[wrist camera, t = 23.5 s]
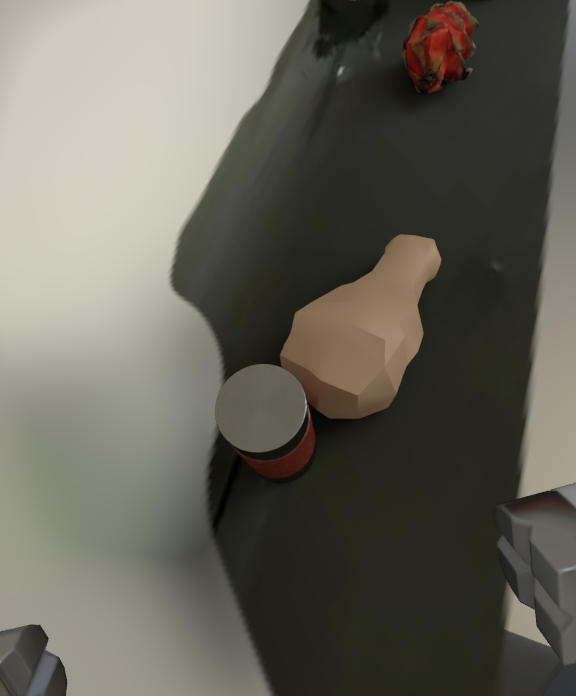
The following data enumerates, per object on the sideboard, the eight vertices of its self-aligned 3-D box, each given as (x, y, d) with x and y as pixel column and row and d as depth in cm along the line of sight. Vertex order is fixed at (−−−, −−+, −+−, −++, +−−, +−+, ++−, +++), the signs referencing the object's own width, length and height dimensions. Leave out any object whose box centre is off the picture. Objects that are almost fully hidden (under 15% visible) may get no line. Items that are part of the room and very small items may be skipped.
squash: (267, 406, 41) (239, 347, 34) (365, 264, 50) (359, 193, 43) (376, 458, 36) (370, 400, 29) (464, 289, 45) (476, 214, 38)
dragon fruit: (447, 59, 62) (425, 129, 59) (400, 18, 59) (374, 90, 56) (500, 11, 54) (478, 89, 51) (448, -39, 51) (421, 41, 48)
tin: (326, 427, 39) (320, 379, 30) (301, 494, 37) (285, 468, 27) (263, 404, 41) (238, 352, 31) (235, 467, 39) (198, 433, 29)
